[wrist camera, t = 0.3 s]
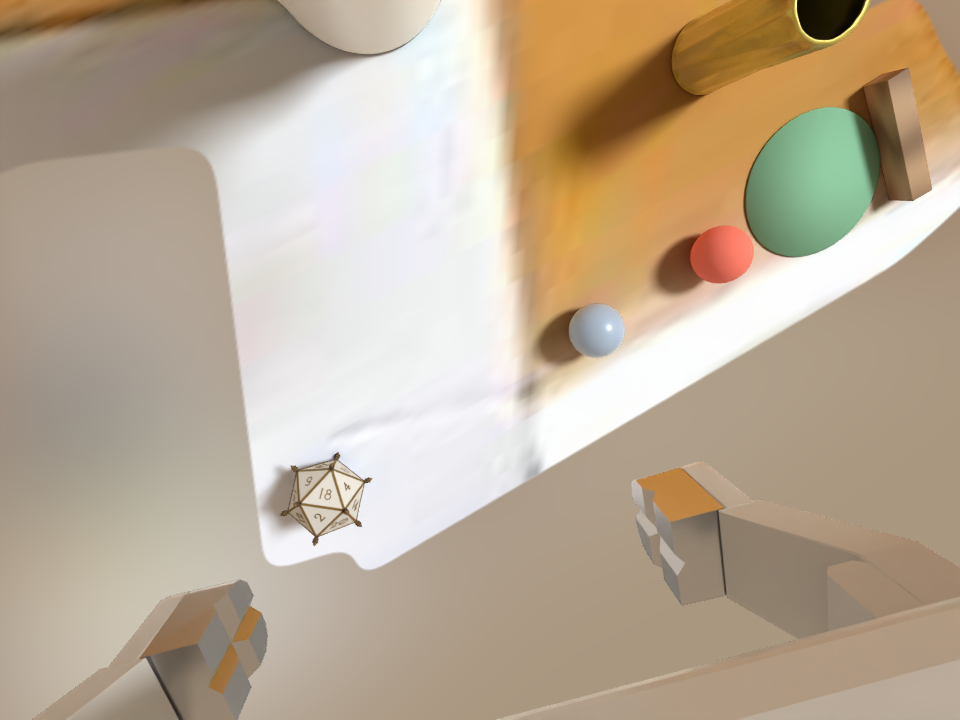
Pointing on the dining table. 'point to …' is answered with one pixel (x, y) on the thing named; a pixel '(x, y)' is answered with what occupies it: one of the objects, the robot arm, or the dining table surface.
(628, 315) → the dining table surface
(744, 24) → the vase
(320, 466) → the game die
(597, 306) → the blue ball
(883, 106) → the walnut stop
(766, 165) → the green mark
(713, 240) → the red ball
